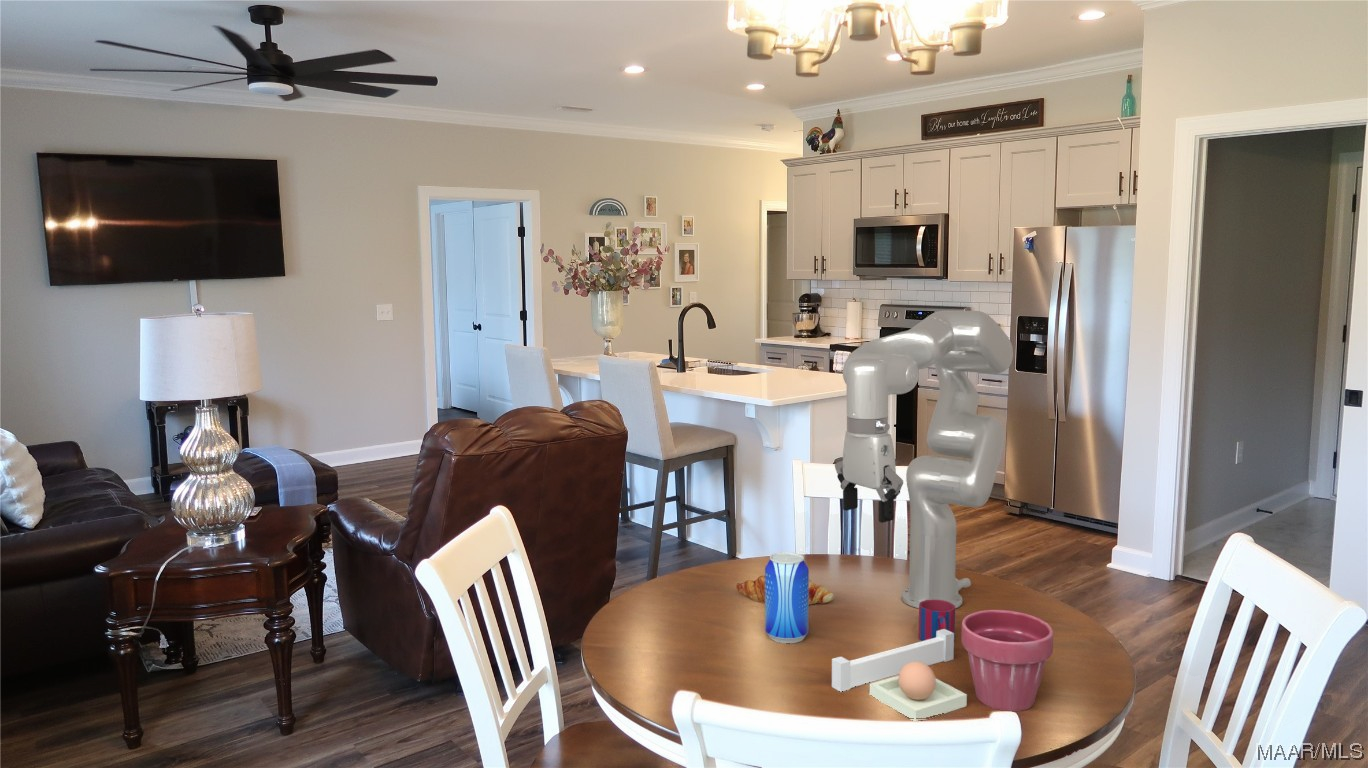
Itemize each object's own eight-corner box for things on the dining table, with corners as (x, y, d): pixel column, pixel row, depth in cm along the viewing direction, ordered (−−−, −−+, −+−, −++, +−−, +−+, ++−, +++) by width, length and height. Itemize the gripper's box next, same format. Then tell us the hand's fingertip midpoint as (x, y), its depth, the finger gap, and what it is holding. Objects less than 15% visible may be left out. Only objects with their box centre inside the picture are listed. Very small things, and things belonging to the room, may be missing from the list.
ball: (917, 686, 155) (917, 652, 154) (943, 700, 150) (943, 665, 149) (890, 695, 152) (890, 660, 151) (916, 709, 147) (916, 673, 146)
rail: (943, 654, 169) (944, 628, 168) (953, 659, 167) (954, 633, 166) (831, 686, 156) (831, 658, 156) (840, 692, 154) (840, 664, 154)
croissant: (833, 614, 199) (835, 578, 201) (831, 608, 190) (833, 570, 192) (737, 606, 203) (741, 570, 206) (731, 599, 194) (734, 562, 197)
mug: (952, 633, 179) (953, 600, 178) (957, 654, 169) (958, 619, 168) (917, 631, 180) (918, 598, 179) (920, 652, 170) (921, 617, 169)
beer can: (806, 646, 173) (807, 565, 171) (762, 643, 175) (762, 562, 173) (809, 629, 181) (810, 551, 180) (767, 627, 183) (767, 549, 181)
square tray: (918, 680, 158) (919, 669, 158) (966, 706, 149) (966, 694, 149) (869, 695, 153) (869, 683, 153) (915, 722, 143) (915, 710, 143)
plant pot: (1003, 727, 142) (1006, 648, 140) (942, 690, 154) (943, 618, 153) (1070, 707, 148) (1073, 632, 146) (1005, 674, 160) (1007, 604, 159)
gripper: (916, 430, 163) (916, 522, 166) (851, 416, 178) (852, 501, 181) (885, 435, 160) (885, 530, 162) (821, 421, 174) (822, 508, 177)
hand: (867, 515), depth 171 cm, fingers open, 9 cm apart
